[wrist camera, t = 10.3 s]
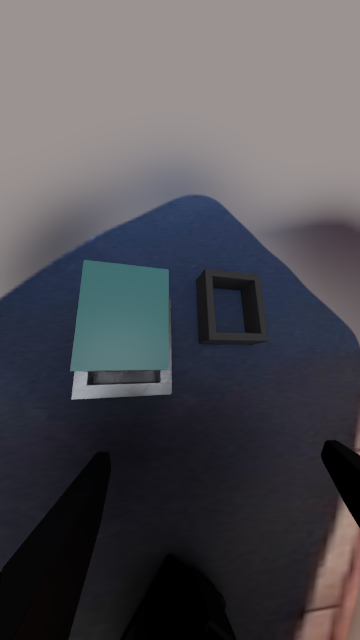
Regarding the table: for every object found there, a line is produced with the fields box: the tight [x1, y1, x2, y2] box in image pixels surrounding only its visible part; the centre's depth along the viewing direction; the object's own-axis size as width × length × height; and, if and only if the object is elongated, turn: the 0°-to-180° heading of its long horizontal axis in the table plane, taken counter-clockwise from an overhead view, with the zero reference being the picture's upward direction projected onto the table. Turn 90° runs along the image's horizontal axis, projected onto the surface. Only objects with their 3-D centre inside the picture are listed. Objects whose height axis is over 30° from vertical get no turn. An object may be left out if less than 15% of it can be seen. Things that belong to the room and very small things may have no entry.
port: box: [71, 298, 172, 399], centre depth 19 cm, size 9×8×4 cm
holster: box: [196, 269, 269, 345], centre depth 23 cm, size 8×7×3 cm
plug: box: [70, 260, 169, 372], centre depth 14 cm, size 5×4×12 cm
